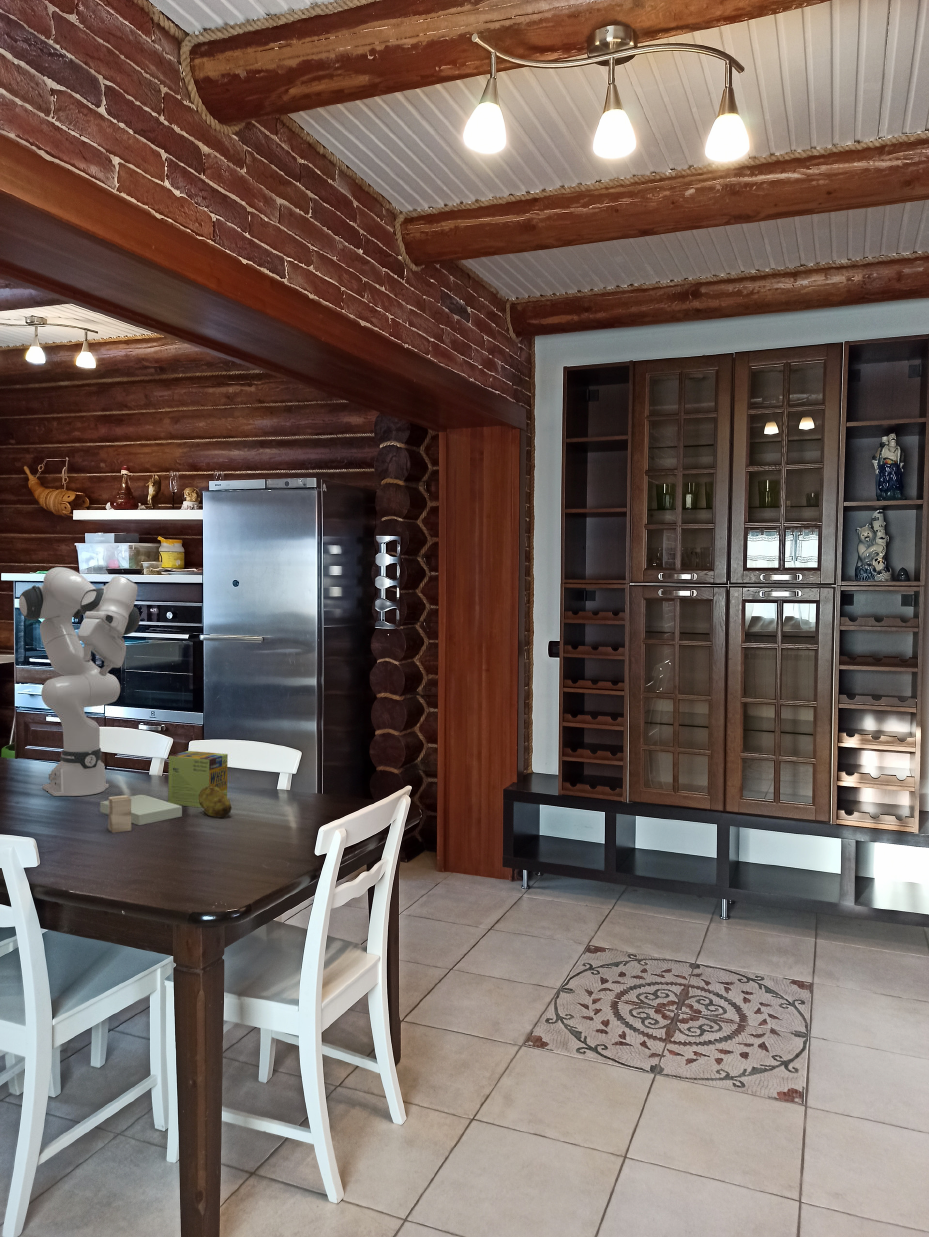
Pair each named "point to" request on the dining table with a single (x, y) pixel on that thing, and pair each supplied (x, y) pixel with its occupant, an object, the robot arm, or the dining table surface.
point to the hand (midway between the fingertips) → (94, 668)
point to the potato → (214, 802)
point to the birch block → (119, 813)
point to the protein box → (195, 776)
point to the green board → (148, 809)
